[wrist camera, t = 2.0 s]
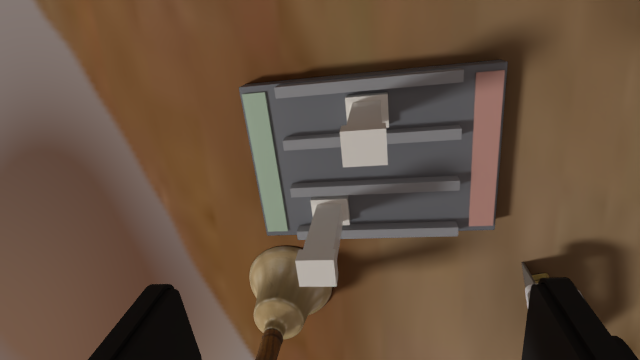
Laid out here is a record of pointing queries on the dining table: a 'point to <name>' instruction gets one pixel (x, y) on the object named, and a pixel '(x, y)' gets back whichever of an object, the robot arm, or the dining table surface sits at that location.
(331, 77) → the panel
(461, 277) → the dining table surface
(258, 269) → the hand bell
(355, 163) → the handle
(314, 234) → the handle
